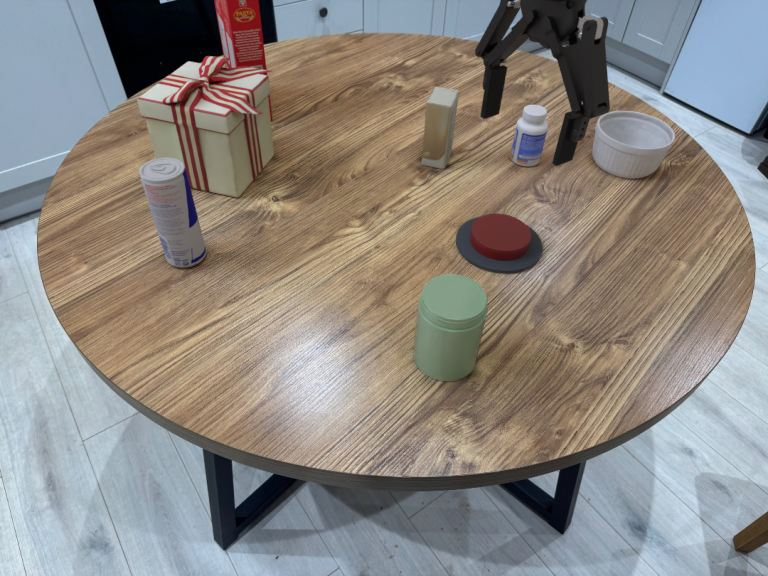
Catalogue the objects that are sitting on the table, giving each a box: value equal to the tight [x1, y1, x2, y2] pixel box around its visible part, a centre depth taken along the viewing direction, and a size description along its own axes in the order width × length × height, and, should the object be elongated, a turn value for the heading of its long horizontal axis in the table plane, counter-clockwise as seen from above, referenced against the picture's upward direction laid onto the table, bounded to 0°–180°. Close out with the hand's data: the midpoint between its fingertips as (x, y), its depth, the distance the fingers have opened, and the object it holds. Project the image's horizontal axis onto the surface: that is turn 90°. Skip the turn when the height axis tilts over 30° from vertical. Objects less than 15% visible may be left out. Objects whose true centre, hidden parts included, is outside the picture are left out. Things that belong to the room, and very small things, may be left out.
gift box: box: [136, 55, 275, 199], centre depth 93 cm, size 17×18×17 cm
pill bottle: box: [510, 104, 549, 168], centre depth 100 cm, size 5×5×10 cm
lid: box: [470, 213, 531, 261], centre depth 85 cm, size 9×9×2 cm
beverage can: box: [138, 158, 207, 269], centre depth 77 cm, size 6×6×15 cm
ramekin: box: [591, 110, 676, 180], centre depth 101 cm, size 13×13×7 cm
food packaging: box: [213, 0, 274, 122], centre depth 106 cm, size 15×5×25 cm, turn 23°
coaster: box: [455, 215, 544, 275], centre depth 86 cm, size 13×13×1 cm
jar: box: [412, 273, 489, 382], centre depth 67 cm, size 8×8×11 cm
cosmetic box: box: [420, 86, 460, 170], centre depth 99 cm, size 6×4×12 cm
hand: (523, 137), depth 73 cm, fingers open, 13 cm apart
